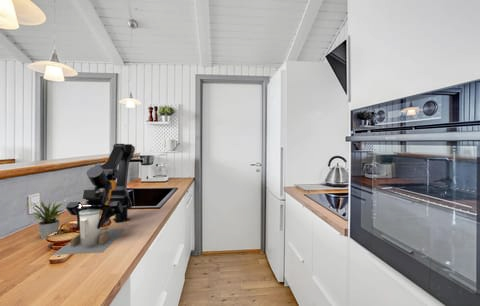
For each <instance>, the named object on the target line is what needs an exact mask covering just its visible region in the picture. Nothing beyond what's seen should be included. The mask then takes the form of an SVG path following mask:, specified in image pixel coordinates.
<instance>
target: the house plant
mask: <svg viewBox="0 0 480 306" xmlns="http://www.w3.org/2000/svg"><path fill="white" fill-rule="evenodd" d="M50 199H52V197H51V198H50ZM67 200H68V199H65V200H63V201H62V202H59V203H58V204H56V203H57V202H56V200H55V199H53V200H52V202H53V205H52V208H51V209H50V207H51V204H52V202H51V200H49V202H48V205H45V203H44V202H43V201H42V200H41V199H40V200H39V204H40V205H41V207H42V208H43V209H42V208H41V207H39V206H38V205H37V203H34V202H32V205H29V206H33V207H32V209H33V210H35V211H36V213H33V217H35V218H34V221H36V220H40V222H38V223H37V226H38V230H39V231H38V232H39V234H40V238H41V240H45V239H46V238H48V237H49V236H48V235H50V234H52V233H54V232H57V231H58V232H59V227H60V222H61V221H60V219H59V218H60V216H61V214H63V213H65V209H64V210H63V209H62V210H58V209H59V207H61V205H63V204H64V202H66V201H67ZM27 203H29V204H31V202H29V201H28V202H27ZM35 207H36V208H35ZM37 209H38V210H37ZM39 211H40V212H41V213H40V212H39ZM37 212H38V213H37ZM58 213H59V214H58ZM42 214H43V215H42ZM29 217H30V218H31V217H32V216H31V215H30V216H29ZM47 236H48V237H47Z"/></svg>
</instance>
